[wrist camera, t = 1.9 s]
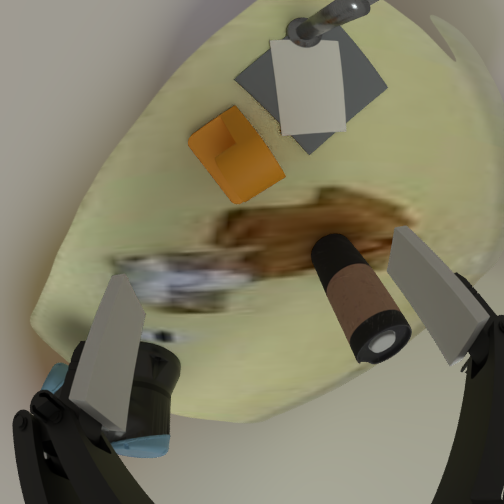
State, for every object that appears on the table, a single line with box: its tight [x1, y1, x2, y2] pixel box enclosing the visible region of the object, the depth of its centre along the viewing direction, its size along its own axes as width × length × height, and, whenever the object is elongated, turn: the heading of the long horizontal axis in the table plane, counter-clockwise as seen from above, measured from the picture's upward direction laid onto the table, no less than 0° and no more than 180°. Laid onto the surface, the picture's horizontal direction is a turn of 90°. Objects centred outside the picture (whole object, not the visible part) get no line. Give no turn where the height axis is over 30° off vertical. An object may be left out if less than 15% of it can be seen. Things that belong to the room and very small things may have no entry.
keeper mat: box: [234, 26, 388, 155], centre depth 29 cm, size 16×17×1 cm
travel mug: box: [311, 234, 412, 364], centre depth 36 cm, size 8×8×20 cm
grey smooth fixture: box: [287, 0, 379, 48], centre depth 18 cm, size 7×4×15 cm
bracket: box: [188, 106, 286, 204], centre depth 29 cm, size 11×7×12 cm, turn 33°
